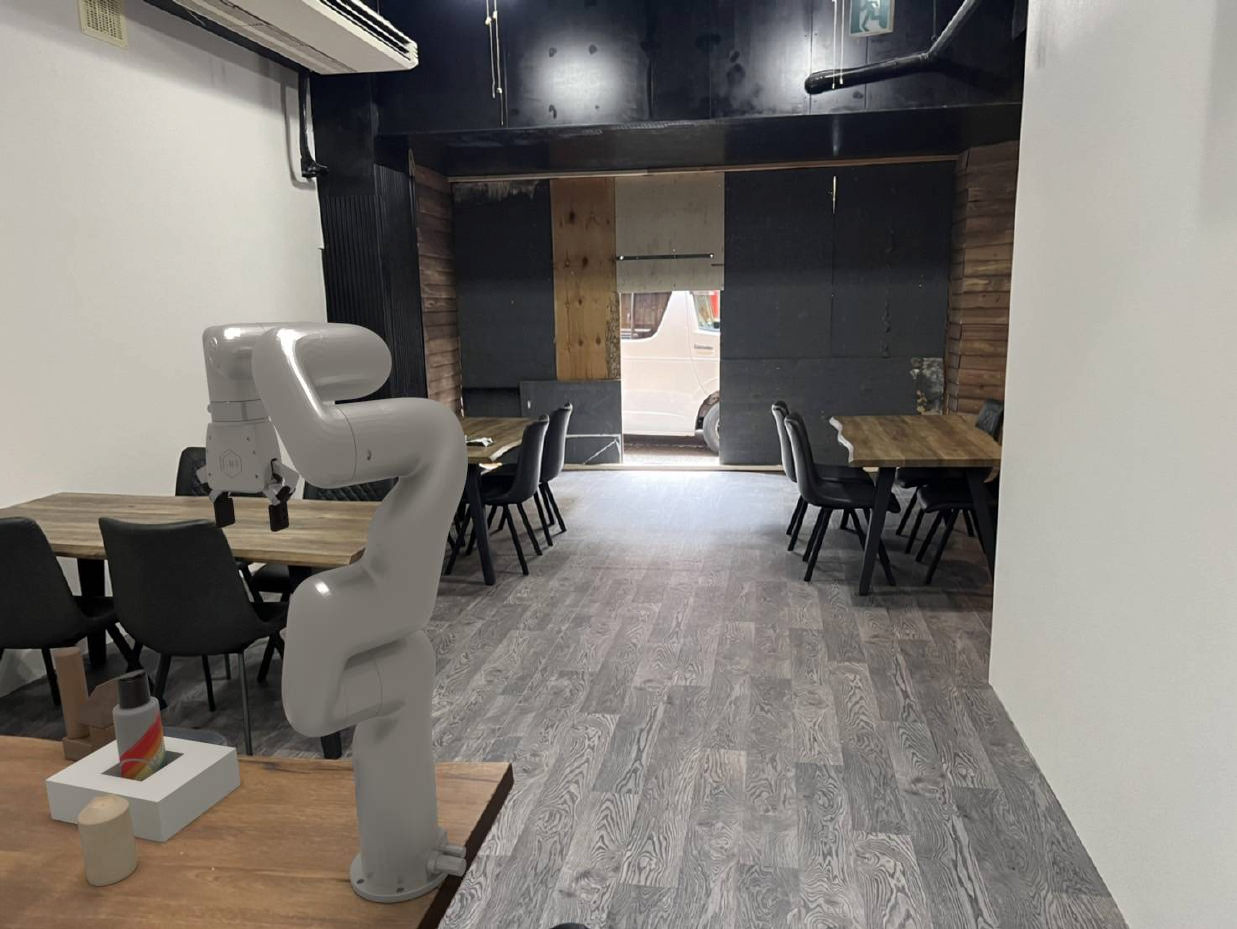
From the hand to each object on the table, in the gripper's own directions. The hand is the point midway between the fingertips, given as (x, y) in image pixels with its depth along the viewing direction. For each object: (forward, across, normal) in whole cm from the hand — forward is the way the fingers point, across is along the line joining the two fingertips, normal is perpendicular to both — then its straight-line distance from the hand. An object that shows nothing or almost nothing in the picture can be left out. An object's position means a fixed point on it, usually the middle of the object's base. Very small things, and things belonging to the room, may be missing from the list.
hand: (252, 527), depth 119 cm
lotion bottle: (+38, -12, -13) cm, 42 cm away
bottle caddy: (+38, -12, -13) cm, 42 cm away
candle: (+38, -4, -26) cm, 47 cm away
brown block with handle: (+38, -30, -6) cm, 49 cm away
